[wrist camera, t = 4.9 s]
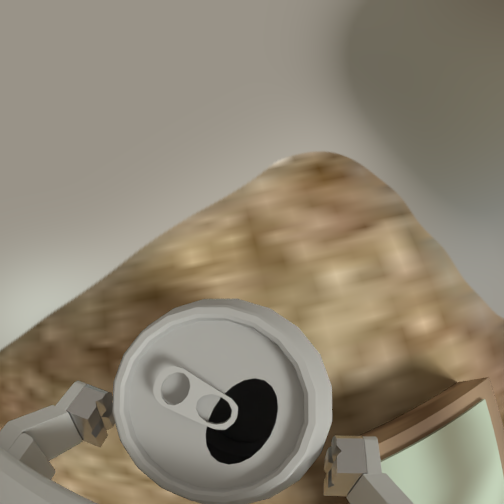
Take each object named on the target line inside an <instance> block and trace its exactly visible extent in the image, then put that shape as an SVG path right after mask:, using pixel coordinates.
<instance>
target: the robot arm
mask: <svg viewBox="0 0 504 504" xmlns="http://www.w3.org/2000/svg"><path fill="white" fill-rule="evenodd" d="M112 400H113V396H112V393H110V392H107V391H105V390H102V389H99V388H97V387H94V386H91V385H89V384H86V383H84V382H81V381H79V380H78V381H76V382H74V383H73V385H72V386H71V387H70V388H69V389H68V391H67V392H66V393H65V394H64V396H63V397H62V398H61V399H60V401H59V402H58V403H57V404H56V406H54V405H51V406H48V407H46V408H43V409H41V410H38V411H35V412H33V413H30V414H27V415H25V416H22V417H19V418H17V419H14V420H11V421H8V422H7V424H6V425H5V426H4V427H3V429H2V430H1V431H0V504H97V503H95V502H93V501H91V500H89V499H87V498H84V497H82V496H80V495H78V494H76V493H74V492H72V491H70V490H69V489H67V488H65V487H63V486H61V485H59V484H57V483H56V482H54V481H52V480H51V479H52V477H53V476H54V474H55V469H54V468H53V466H52V465H51V464H50V462H49V460H51V459H53V458H55V457H57V456H58V455H60V454H62V453H64V452H65V451H67V450H69V449H71V448H72V447H74V446H76V445H78V444H79V443H81V442H83V441H85V442H88V443H90V444H93V445H95V446H98V447H101V446H102V444H103V443H104V441H105V439H106V438H107V436H108V434H107V430H109V429H111V428H113V426H114V424H115V420H114V416H113V412H112V409H113V403H112ZM82 440H83V441H82ZM324 471H325V472H326V473H327V476H326V477H325V479H324V495H325V496H347V497H346V498H347V499H348V501H349V503H350V504H414V503H413V502H412V501H411V500H410V499H409V498H408V497H407V496H406V495H405V494H404V492H403V491H402V490H401V489H400V488H399V487H398V486H397V485H396V484H395V483H394V482H393V481H392V479H391V478H390V477H389V476H388V475H387V474H386V473H382V468H381V460H380V452H379V445H378V439H377V437H375V436H339V435H335V436H334V437H333V439H332V446H331V447H329V448H328V450H327V453H326V457H325V463H324Z"/></svg>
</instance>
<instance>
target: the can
mask: <svg viewBox="0 0 504 504" xmlns="http://www.w3.org/2000/svg"><path fill="white" fill-rule="evenodd" d="M112 412H113V416H114V420H115V423H116V427H117V431H118V434H119V438H120V441H121V443H122V444H123V446H124V447H125V449H126V451H127V452H128V454H129V455H130V457H131V458H132V460H133V461H134V463H135V465H136V466H137V467H138V468H139V469H140V470H141V471H142V472H143V473H144V474H146V475H147V476H148V477H149V478H150V479H152V480H153V481H154V482H155V483H156V484H158V485H159V486H160V487H161V488H163V489H165V490H167V491H170V492H172V493H174V494H177V495H179V496H181V497H184V498H186V499H189V500H191V501H196V502H198V503H202V504H248V503H253V502H257V501H261V500H265V499H269V498H271V497H273V496H274V495H276V494H278V493H279V492H281V491H283V490H284V489H286V488H288V487H289V486H291V485H292V484H294V483H295V482H297V481H299V480H300V478H301V477H302V476H303V475H304V474H305V473H306V471H307V470H308V469H309V468H310V466H311V465H312V464H313V463H314V461H315V460H316V459H317V458H318V456H319V455H320V454H321V452H322V449H323V446H324V443H325V441H326V438H327V435H328V432H329V429H330V426H331V423H332V386H331V383H330V380H329V378H328V375H327V372H326V369H325V367H324V364H323V361H322V358H321V356H320V354H319V353H318V351H317V350H316V349H315V347H314V346H313V345H312V344H311V342H310V341H309V340H308V339H307V337H306V336H305V335H304V334H303V332H302V331H301V330H300V329H299V327H297V326H296V325H294V324H293V323H291V322H290V321H288V320H287V319H285V318H284V317H282V316H281V315H279V314H278V313H276V312H275V311H273V310H272V309H270V308H267V307H263V306H260V305H257V304H253V303H250V302H247V301H243V300H240V299H203V300H199V301H196V302H193V303H190V304H186V305H183V306H180V307H177V308H173V309H172V310H171V311H169V312H168V313H166V314H165V315H163V316H162V317H160V318H159V319H157V320H156V321H154V322H153V323H152V324H150V325H149V326H147V327H146V329H144V330H143V331H142V332H141V333H140V334H139V335H138V337H137V338H136V339H135V340H134V342H133V343H132V344H131V346H130V347H129V348H128V349H127V351H126V352H125V353H124V355H123V358H122V360H121V363H120V366H119V368H118V371H117V374H116V377H115V379H114V385H113V409H112Z"/></svg>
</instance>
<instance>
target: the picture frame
mask: <svg viewBox="0 0 504 504" xmlns="http://www.w3.org/2000/svg"><path fill="white" fill-rule="evenodd" d="M360 436H375V437H377V439H378V445H379V452H380V460H381V468H382V473H386V474H387V475H388V476H389V477H390V478H391V479H392V481H393V482H394V483H395V484H396V485H397V486H398V487H399V488H400V489H401V490H402V491H403V492H404V494H405V495H406V496H407V497H408V498H409V499H410V500H411V501H412V502H413V503H414V504H504V428H503V424H502V420H501V416H500V412H499V409H498V405H497V402H496V398H495V395H494V391H493V388H492V385H491V382H490V379H489V377H487V378H481V379H475V380H469V381H463V382H458V383H456V384H455V385H453V386H451V387H450V388H448V389H447V390H445V391H443V392H442V393H440V394H438V395H437V396H435V397H433V398H432V399H430V400H428V401H427V402H425V403H423V404H421V405H420V406H418V407H416V408H414V409H412V410H411V411H409V412H407V413H405V414H403V415H401V416H399V417H397V418H395V419H393V420H391V421H389V422H387V423H385V424H383V425H381V426H379V427H377V428H375V429H373V430H371V431H369V432H366V433H364V434H362V435H360Z"/></svg>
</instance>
